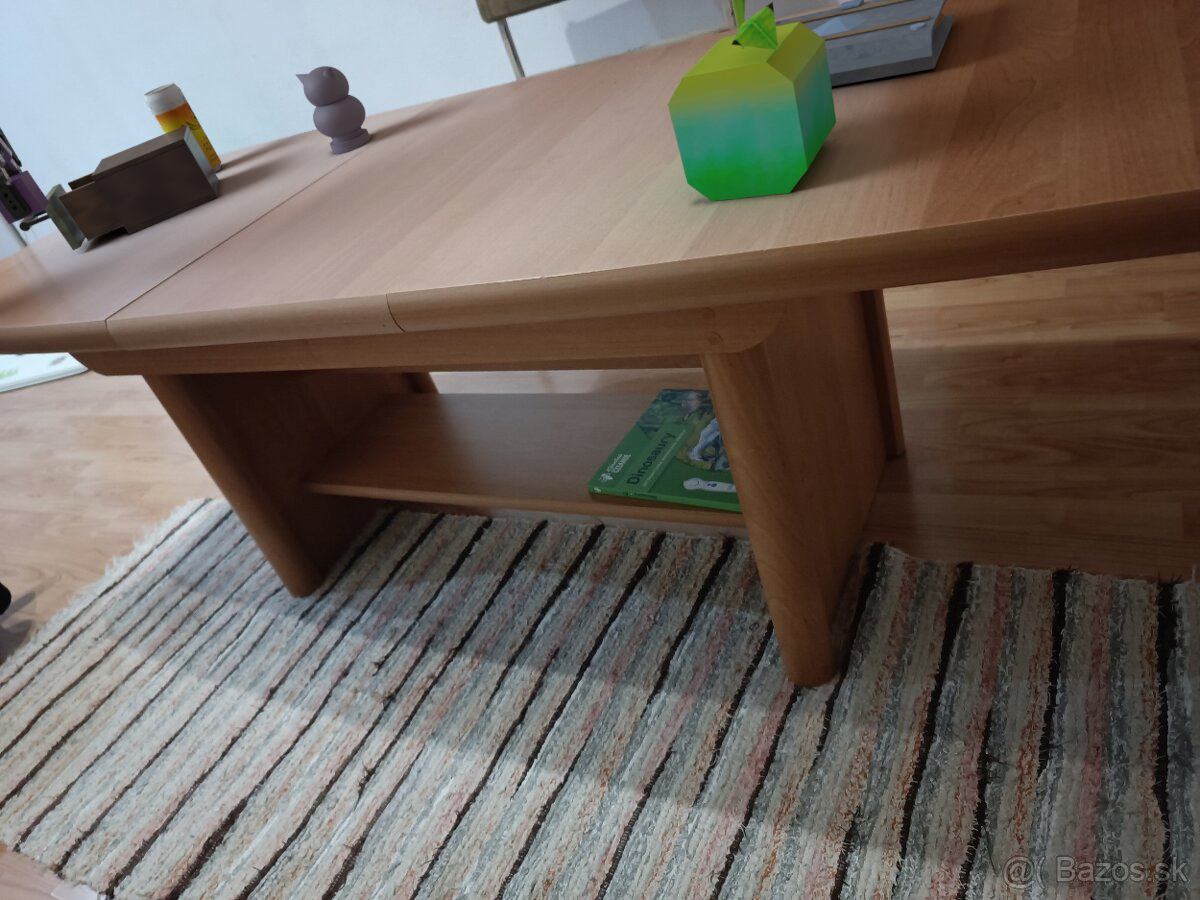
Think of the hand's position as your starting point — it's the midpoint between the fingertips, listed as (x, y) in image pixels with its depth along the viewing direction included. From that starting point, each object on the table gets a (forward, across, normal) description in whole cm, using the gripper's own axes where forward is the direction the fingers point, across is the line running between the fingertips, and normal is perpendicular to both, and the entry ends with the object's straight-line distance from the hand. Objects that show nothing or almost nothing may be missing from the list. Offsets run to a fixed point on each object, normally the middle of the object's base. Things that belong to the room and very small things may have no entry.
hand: (27, 210), depth 111 cm
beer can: (+12, -44, +16) cm, 48 cm away
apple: (+11, +58, +73) cm, 94 cm away
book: (+10, +40, +93) cm, 102 cm away
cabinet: (+11, -28, +11) cm, 32 cm away
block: (0, 0, 0) cm, 0 cm away
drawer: (+11, -28, 0) cm, 30 cm away
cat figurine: (+11, -19, +41) cm, 47 cm away
